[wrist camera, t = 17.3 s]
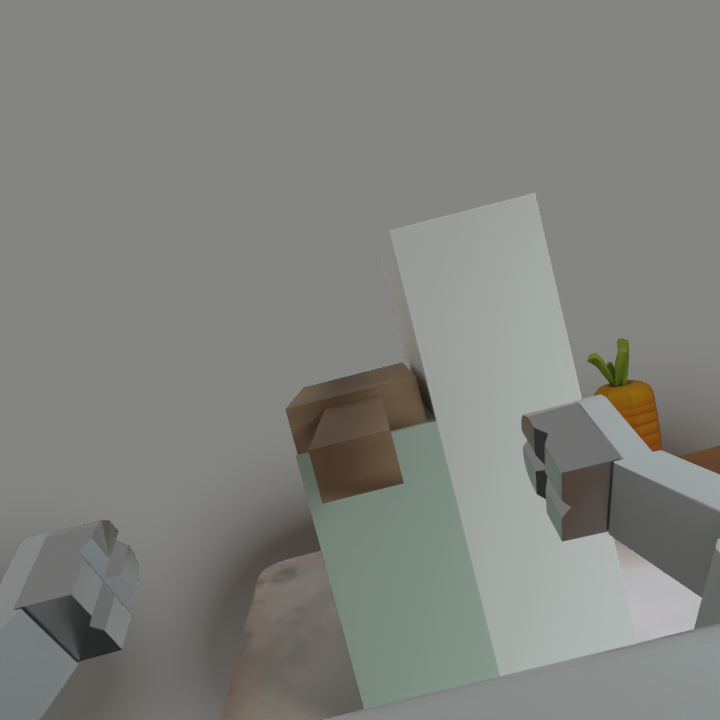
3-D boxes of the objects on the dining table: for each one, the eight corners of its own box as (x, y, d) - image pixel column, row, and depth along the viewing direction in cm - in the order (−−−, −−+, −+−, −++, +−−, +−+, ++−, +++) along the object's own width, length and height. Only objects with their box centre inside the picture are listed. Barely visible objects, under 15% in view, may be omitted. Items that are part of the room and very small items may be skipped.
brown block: (411, 397, 37) (402, 362, 37) (458, 469, 19) (441, 402, 19) (313, 422, 37) (303, 387, 37) (268, 517, 19) (250, 450, 19)
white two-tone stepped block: (555, 564, 42) (477, 234, 40) (644, 674, 29) (534, 192, 27) (368, 610, 42) (282, 285, 40) (372, 739, 29) (245, 268, 27)
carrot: (627, 527, 44) (587, 351, 43) (609, 504, 49) (572, 346, 48) (691, 516, 44) (652, 337, 42) (666, 494, 48) (630, 333, 47)
